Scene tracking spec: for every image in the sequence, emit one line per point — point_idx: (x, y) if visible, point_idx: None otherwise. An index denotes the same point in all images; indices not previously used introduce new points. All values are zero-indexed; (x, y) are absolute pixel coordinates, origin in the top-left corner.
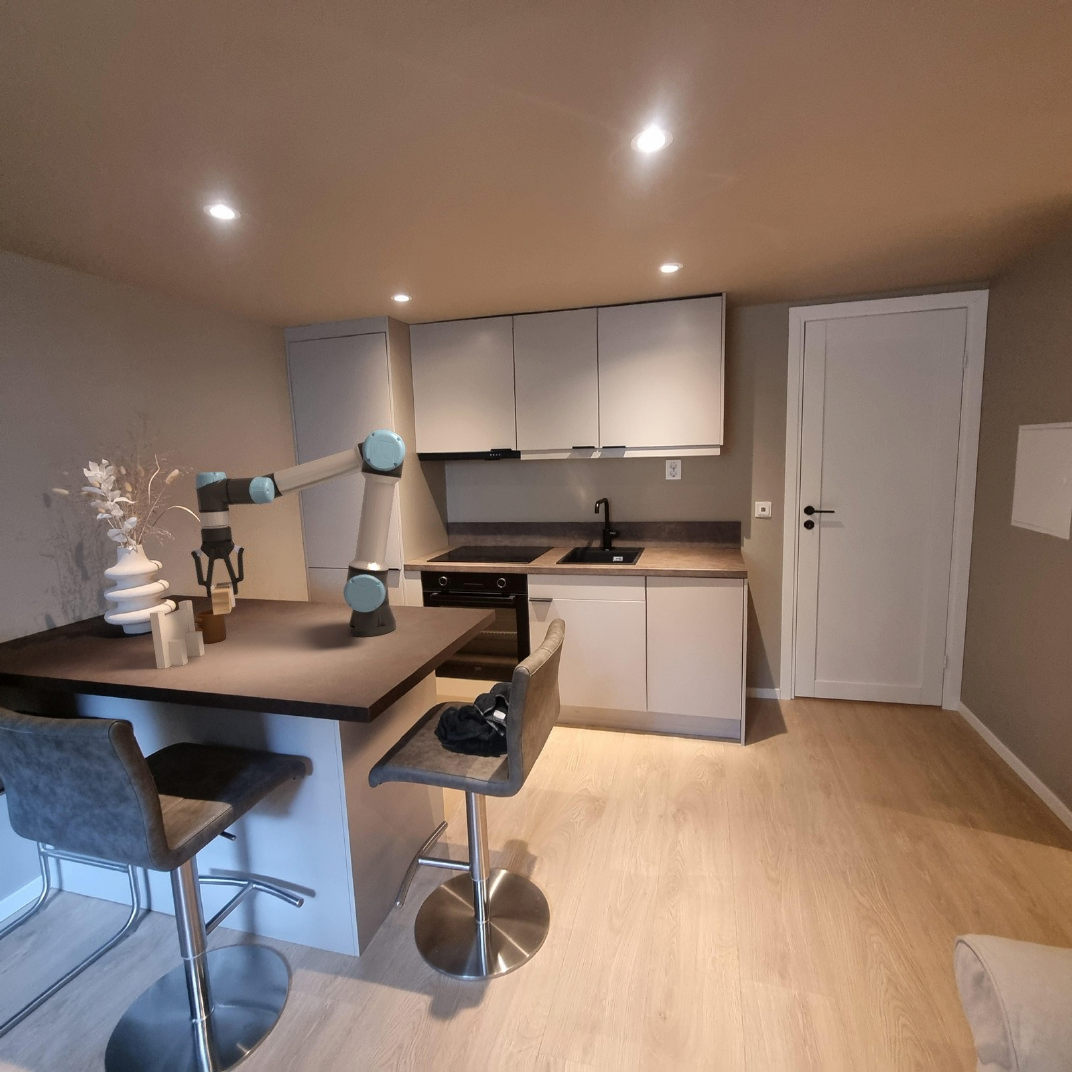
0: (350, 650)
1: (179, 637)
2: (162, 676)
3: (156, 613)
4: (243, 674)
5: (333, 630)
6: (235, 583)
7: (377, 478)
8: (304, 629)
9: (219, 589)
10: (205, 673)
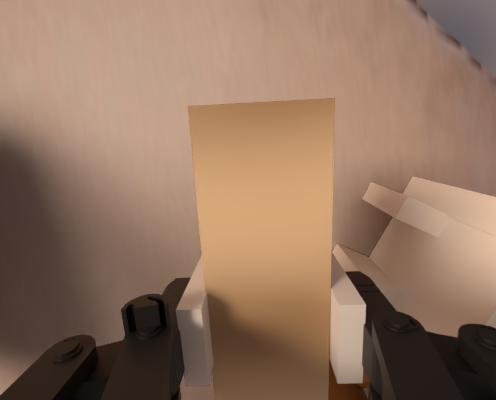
0: None
1: (413, 268)
2: (413, 107)
3: None
4: (201, 6)
5: (18, 307)
6: (136, 299)
7: None
8: None
9: (284, 274)
10: (305, 74)
